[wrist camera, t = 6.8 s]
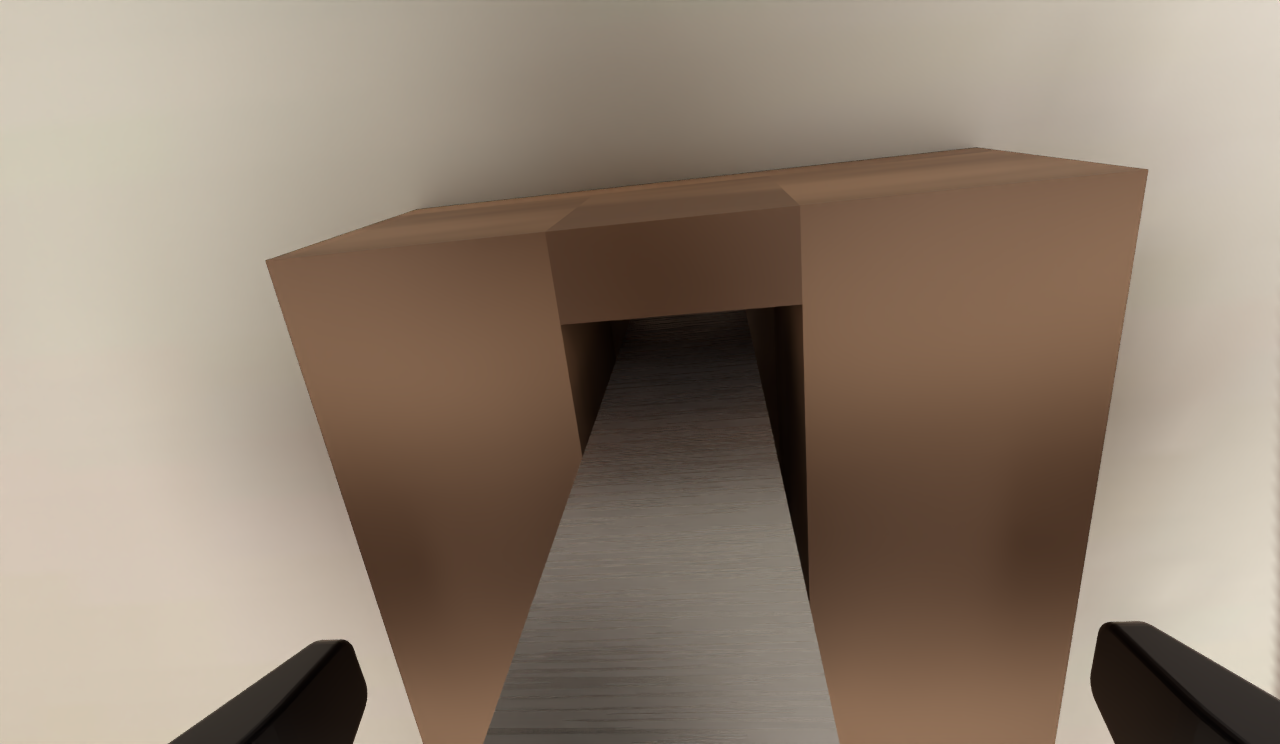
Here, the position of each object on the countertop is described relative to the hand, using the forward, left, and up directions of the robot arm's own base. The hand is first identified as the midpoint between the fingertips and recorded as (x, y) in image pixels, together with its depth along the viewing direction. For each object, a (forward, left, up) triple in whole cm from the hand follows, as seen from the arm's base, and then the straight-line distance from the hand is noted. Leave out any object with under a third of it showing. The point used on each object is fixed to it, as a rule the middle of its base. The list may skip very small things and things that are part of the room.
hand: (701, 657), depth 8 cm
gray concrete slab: (0, 0, -6) cm, 6 cm away
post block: (0, 0, -7) cm, 7 cm away
